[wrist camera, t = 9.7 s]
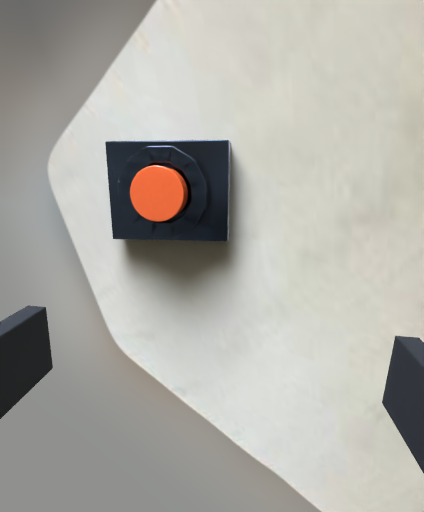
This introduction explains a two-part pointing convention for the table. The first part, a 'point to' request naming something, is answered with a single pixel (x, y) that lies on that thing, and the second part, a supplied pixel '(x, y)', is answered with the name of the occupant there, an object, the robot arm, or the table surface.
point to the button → (158, 193)
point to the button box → (197, 180)
